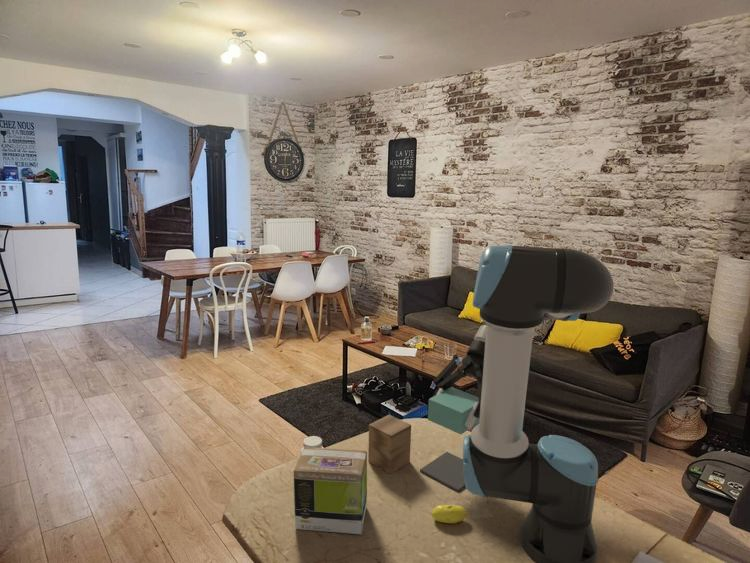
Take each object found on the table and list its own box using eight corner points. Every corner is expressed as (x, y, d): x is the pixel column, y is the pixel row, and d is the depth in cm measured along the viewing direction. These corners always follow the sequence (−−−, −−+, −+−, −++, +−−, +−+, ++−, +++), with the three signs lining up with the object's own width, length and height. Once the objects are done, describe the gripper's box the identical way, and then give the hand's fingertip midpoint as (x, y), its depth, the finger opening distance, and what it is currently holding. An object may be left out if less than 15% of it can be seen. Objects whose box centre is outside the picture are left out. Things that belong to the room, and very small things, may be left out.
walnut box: (409, 461, 134) (411, 424, 132) (390, 474, 128) (391, 435, 126) (388, 450, 139) (389, 414, 137) (368, 461, 134) (368, 424, 131)
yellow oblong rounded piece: (430, 513, 114) (431, 498, 113) (465, 515, 114) (466, 500, 113) (432, 526, 110) (432, 511, 109) (468, 528, 110) (469, 513, 109)
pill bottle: (317, 469, 130) (317, 431, 127) (329, 481, 125) (329, 442, 122) (296, 478, 126) (295, 438, 124) (308, 490, 121) (307, 450, 119)
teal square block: (483, 420, 128) (484, 399, 127) (460, 434, 121) (462, 412, 119) (450, 406, 135) (451, 387, 133) (427, 419, 127) (428, 399, 126)
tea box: (367, 506, 116) (368, 449, 113) (361, 536, 106) (362, 475, 103) (304, 500, 118) (304, 444, 114) (293, 530, 108) (292, 470, 105)
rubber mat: (484, 471, 130) (484, 469, 130) (458, 492, 122) (458, 489, 122) (446, 453, 138) (446, 451, 138) (420, 471, 130) (420, 469, 130)
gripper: (529, 364, 128) (493, 442, 120) (455, 342, 143) (419, 410, 135) (521, 350, 123) (483, 430, 115) (445, 329, 138) (408, 398, 130)
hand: (448, 419), depth 125 cm, fingers closed on teal square block, 10 cm apart
